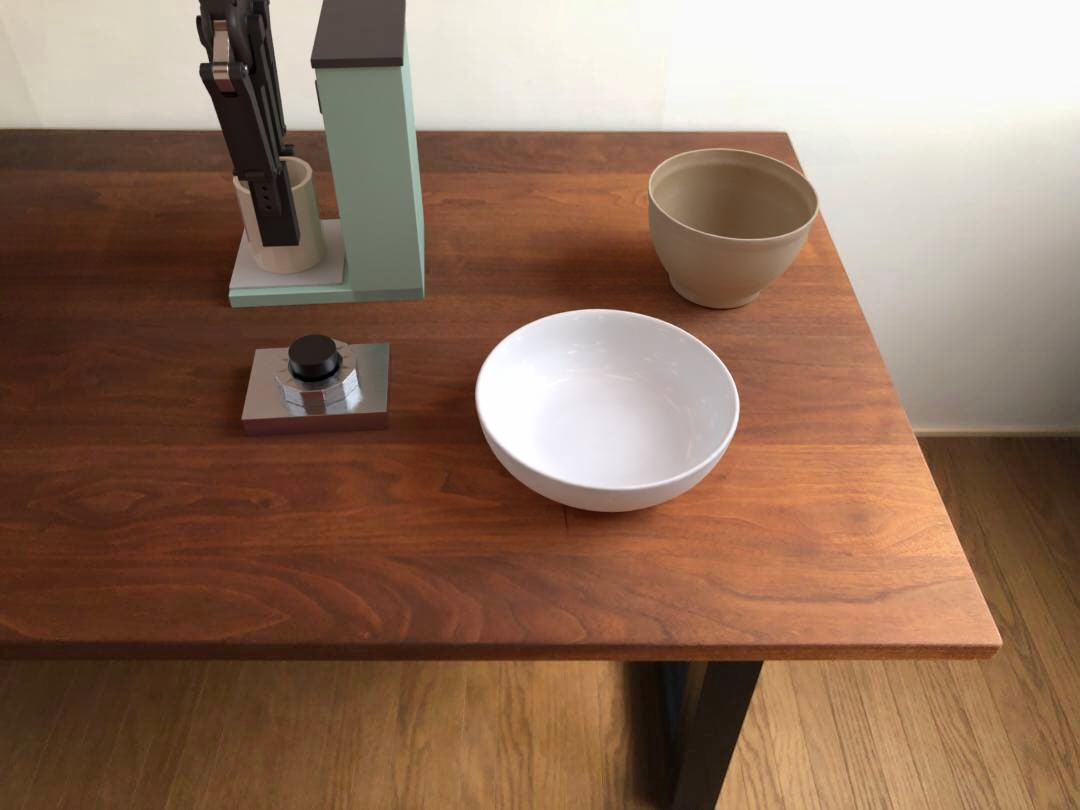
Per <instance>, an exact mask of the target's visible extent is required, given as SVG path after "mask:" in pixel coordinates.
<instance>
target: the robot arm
mask: <svg viewBox="0 0 1080 810" xmlns="http://www.w3.org/2000/svg"><path fill="white" fill-rule="evenodd" d="M198 4H199V12H200V14H197V15H196V16H195V27H196V31H197V35H198V39H199V43H200V44H201V46H203V48H204V49H205V51H206V55H207V60H208V62H200V64H199V67H198V68H199V70H198V75H199V77H200V80H201V82H202V84H203V86H204V88H205V90H206V91H207V93H208V95H209V97H210V99H211V102H212V105H213V108H214V112H215V114H216V117H217V119H218V123H219V126H220V129H221V132H222V135H223V138H224V142H225V144H226V147H227V150H228V153H229V156H230V160H231V162H232V165H233V167H232V172H231V173H232V176H233V177H234V176H237V177H238V180H239V181H248V185H249V190H250V194H251V198H252V202H253V206H254V211H255V215H256V219H257V223H258V228H259V232H260V236H261V240H262V245H263V247H279V246H299V241H300V236H301V235H300V230H299V225H298V219H297V214H296V209H295V204H294V199H293V194H292V189H291V184H290V179H289V174H288V169H287V164H286V160H283V161H280V158H279V157H295V155H296V148H295V143H284V138H285V137H286V135H287V130H288V128H287V125H286V123H285V115H284V109H283V102H282V95H281V89H280V81H279V75H278V68H277V60H276V54H275V46H274V39H273V34H272V33H273V32H272V27H271V26H272V24H271V15H270V14H271V12H270V4H271V0H198ZM283 137H284V138H283Z"/></svg>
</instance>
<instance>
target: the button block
mask: <svg viewBox="0 0 1080 810" xmlns="http://www.w3.org/2000/svg"><path fill="white" fill-rule="evenodd" d="M330 338H331V337H330ZM331 339H332V340H333V341H334V342H335V344H336V348H337V354H338V359H339V369H338V371H337V372H336V373H335V374H334V375H333V376H332V377H330V378H327V379H325V380H323V381H320V382H304V381H301V380H299V379H297V378H296V377H295V376H294V374H293V372H292V368H291V363H290V359H289V355H288V350H289V347H290V346H291V345H289V346H288V347H269V348H256V349H255V352H254V356H253V361H252V367H251V371H250V376H249V380H248V385H247V389H246V390H247V391H246V395H245V399H244V405H243V410H242V414H241V418H240V419H241V423H242V426H243V429H244V432H245V435H246V438H256V437H257V438H258V437H274V436H275V437H276V436H277V437H278V436H293V435H309V434H311V435H313V434H325V433H327V434H328V433H330V434H331V433H345V432H364V431H380V430H381V431H382V430H389V429H390V416H391V415H390V413H391V388H392V365H393V364H392V363H393V360H392V353H391V344H390V342H371V343H352V344H351V343H350V344H348V343H346V342H344V341H341V340H337V339H335V338H331Z"/></svg>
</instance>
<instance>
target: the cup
mask: <svg viewBox="0 0 1080 810" xmlns="http://www.w3.org/2000/svg"><path fill="white" fill-rule="evenodd" d="M279 158H280V161H283V160H286V164H287V169H288V174H289V179H290V184H291V189H292V194H293V199H294V204H295V209H296V214H297V219H298V225H299V230H300V235H301V236H300V241H299V246H279V247H263V245H262V240H261V236H260V232H259V228H258V223H257V219H256V215H255V211H254V206H253V202H252V198H251V194H250V190H249V185H248V181H239V180H238V177H237V176H234V175H233V178H232V184H233V188H234V191H235V195H236V199H237V203H238V207H239V212H240V214H241V215H240V216H241V219H242V223H243V226H244V228H245V231H246V234H247V238H248V242H249V246H250V250H251V254H252V256H253V259H254V262H255V263H256V265H257V266H258V267H259V268H261V269H263V270H265V271H267V272H271V273H276V274H291V273H297V272H301V271H304V270H307V269H309V268H311V267H313V266H315V265H316V264H318V263H319V262H320V261H321V260H322V259H323V258H324V256H325V254H326V240H325V234H324V229H323V223H322V220H323V219H322V213H321V208H320V201H319V197H318V191H317V186H316V181H315V175H314V170H313V168H312V167H311V166H310V164H309V163H308V162H307V161H305V160H303V159H301V158H300V157H295V156H294V157H279Z"/></svg>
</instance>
